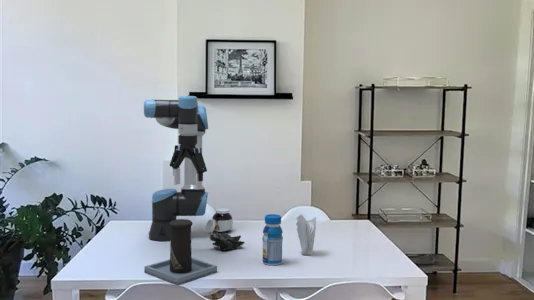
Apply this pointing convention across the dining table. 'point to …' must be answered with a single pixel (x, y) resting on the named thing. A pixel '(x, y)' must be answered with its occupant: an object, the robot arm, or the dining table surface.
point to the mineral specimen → (226, 241)
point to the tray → (164, 273)
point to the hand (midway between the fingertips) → (187, 186)
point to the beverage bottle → (272, 240)
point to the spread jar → (220, 222)
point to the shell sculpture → (306, 234)
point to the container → (180, 246)
